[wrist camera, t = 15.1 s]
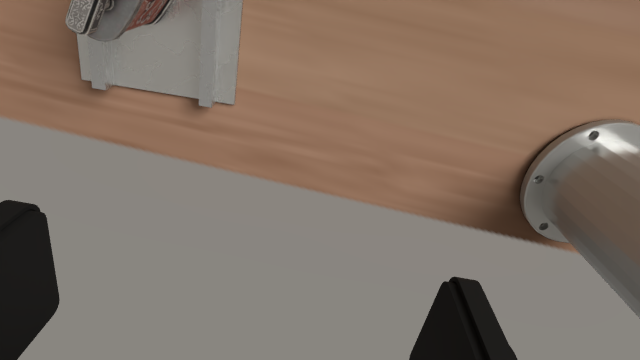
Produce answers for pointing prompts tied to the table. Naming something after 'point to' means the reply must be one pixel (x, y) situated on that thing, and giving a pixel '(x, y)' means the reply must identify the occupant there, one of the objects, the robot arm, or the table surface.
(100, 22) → the lighter
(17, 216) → the robot arm
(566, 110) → the table surface
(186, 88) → the track
